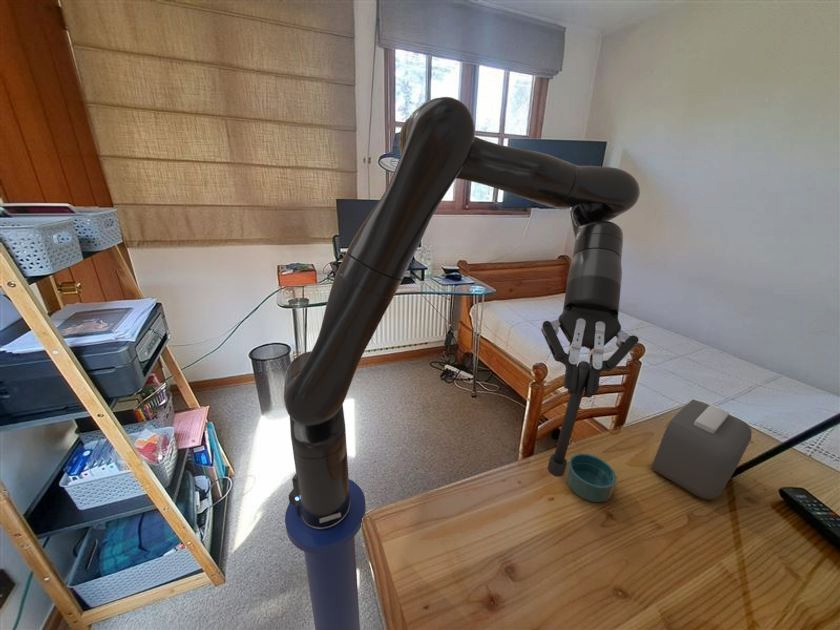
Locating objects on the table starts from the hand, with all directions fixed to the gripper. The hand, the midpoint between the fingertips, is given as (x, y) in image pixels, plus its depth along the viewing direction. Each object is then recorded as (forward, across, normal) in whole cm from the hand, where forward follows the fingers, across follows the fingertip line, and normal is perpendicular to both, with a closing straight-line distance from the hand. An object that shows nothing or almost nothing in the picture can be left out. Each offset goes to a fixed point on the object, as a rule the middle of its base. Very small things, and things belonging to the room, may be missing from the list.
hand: (579, 394), depth 47 cm
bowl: (+12, +9, +35) cm, 38 cm away
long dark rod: (+11, 0, +14) cm, 17 cm away
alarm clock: (+3, +32, +44) cm, 55 cm away
